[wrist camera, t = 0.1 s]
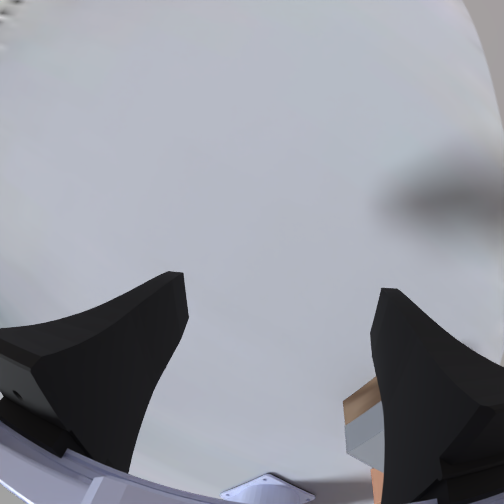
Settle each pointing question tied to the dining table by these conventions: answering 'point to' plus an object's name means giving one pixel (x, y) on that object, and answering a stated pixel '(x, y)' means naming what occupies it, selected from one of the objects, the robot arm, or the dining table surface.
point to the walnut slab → (361, 400)
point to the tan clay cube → (377, 485)
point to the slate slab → (367, 437)
